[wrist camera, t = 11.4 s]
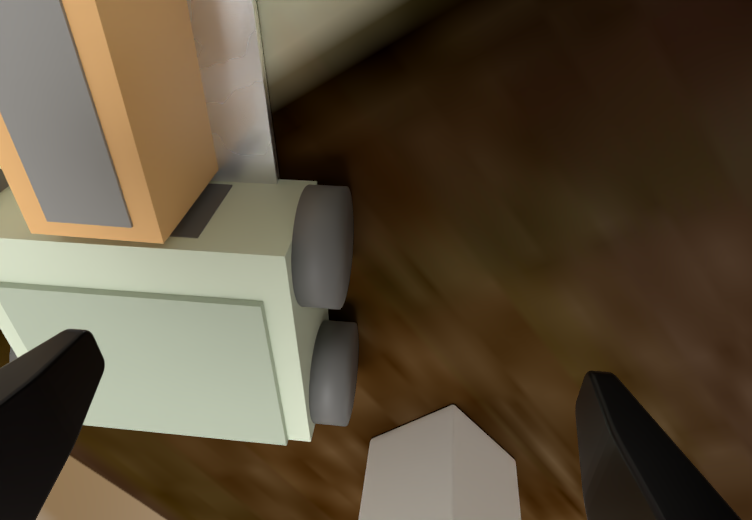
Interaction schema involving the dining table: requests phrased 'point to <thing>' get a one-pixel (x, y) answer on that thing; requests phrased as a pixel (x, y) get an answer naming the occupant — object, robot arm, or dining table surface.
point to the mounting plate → (235, 89)
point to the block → (102, 116)
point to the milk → (439, 473)
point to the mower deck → (201, 312)
